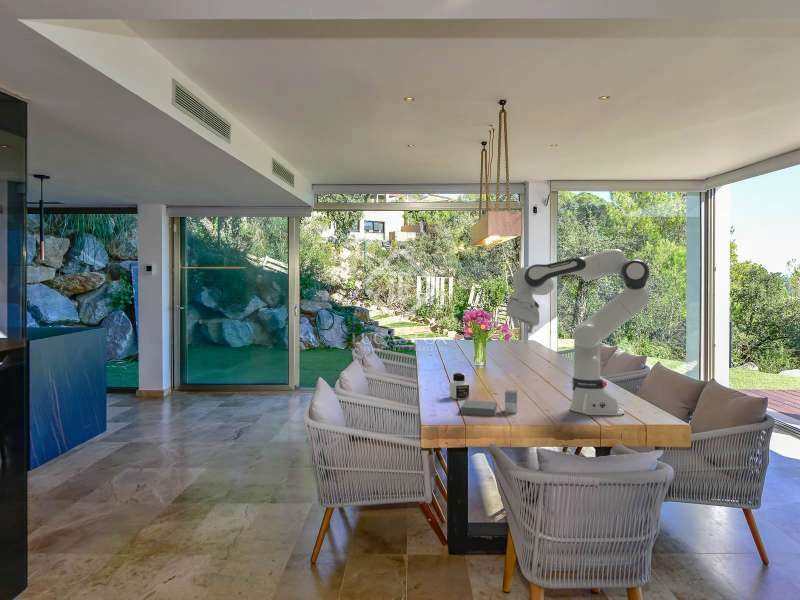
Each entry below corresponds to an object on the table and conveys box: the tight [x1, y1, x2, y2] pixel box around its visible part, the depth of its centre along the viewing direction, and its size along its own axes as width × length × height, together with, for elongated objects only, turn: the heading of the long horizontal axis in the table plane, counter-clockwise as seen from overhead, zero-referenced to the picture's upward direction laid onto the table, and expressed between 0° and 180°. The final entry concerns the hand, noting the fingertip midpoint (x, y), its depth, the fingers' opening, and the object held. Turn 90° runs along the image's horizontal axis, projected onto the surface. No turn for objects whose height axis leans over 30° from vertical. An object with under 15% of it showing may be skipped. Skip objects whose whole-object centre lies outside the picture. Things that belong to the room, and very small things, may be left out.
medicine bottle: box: [449, 372, 470, 400], centre depth 262 cm, size 7×7×12 cm
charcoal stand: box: [460, 399, 498, 417], centre depth 234 cm, size 14×14×3 cm
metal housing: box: [504, 389, 518, 414], centre depth 234 cm, size 5×5×9 cm
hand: (523, 330), depth 241 cm, fingers open, 8 cm apart
